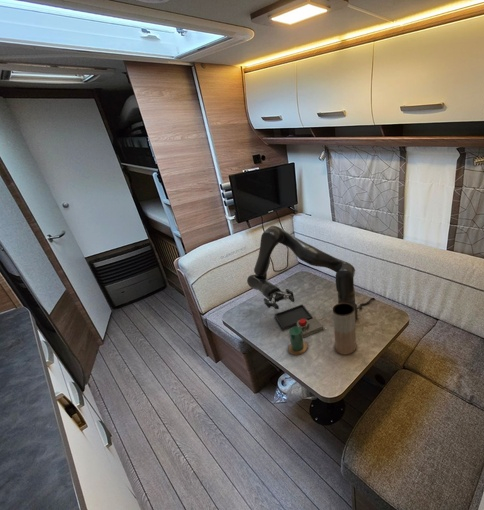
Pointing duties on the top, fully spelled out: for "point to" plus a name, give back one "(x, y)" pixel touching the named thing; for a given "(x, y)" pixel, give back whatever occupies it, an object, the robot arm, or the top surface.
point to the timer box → (310, 327)
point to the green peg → (296, 338)
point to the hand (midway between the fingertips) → (286, 303)
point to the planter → (344, 327)
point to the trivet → (298, 351)
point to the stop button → (302, 321)
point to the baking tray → (292, 316)
